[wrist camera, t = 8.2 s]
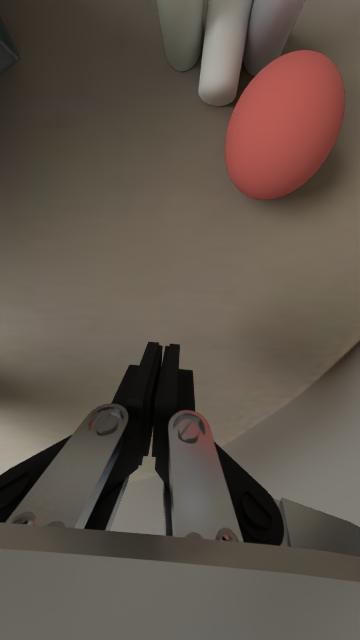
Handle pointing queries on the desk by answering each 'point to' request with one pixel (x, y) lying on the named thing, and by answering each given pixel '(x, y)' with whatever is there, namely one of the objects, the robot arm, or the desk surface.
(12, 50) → the cassette player
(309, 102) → the ball
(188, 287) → the desk surface
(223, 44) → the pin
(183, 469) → the robot arm
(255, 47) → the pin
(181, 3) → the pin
